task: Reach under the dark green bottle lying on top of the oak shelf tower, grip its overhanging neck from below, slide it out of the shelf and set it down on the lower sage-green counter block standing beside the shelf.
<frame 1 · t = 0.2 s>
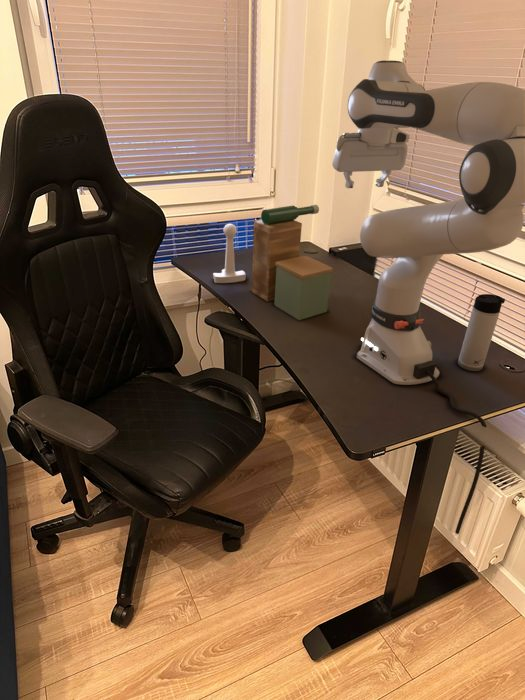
hand: (364, 187, 136), 39 cm above the table, tool pointing down, fingers open, 8 cm apart
bottle: (279, 221, 157), point 24 cm above the table, touching shelf
travel mug: (470, 366, 133), on the table
shelf: (274, 292, 169), on the table
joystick: (228, 278, 179), on the table
counter: (300, 308, 160), on the table
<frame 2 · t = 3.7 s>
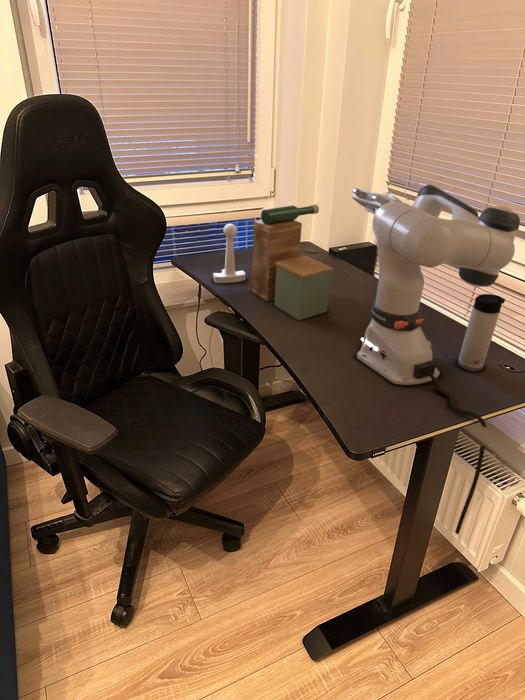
hand: (364, 193, 166), 31 cm above the table, tool pointing upward, fingers open, 8 cm apart
nothing on the table moved.
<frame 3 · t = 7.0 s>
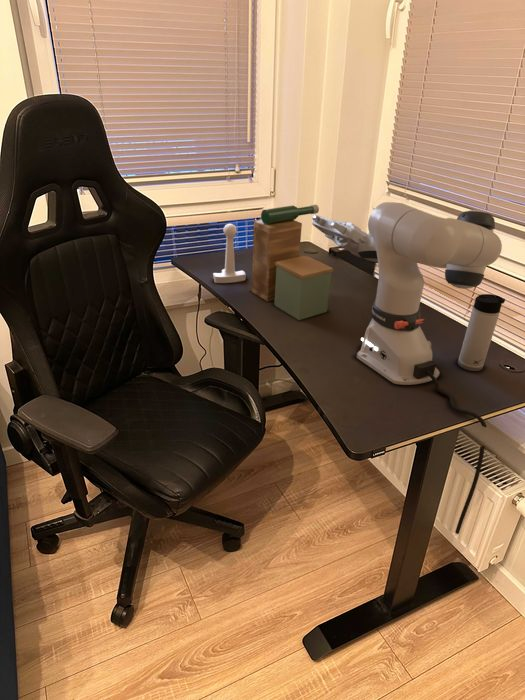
hand: (323, 220, 168), 22 cm above the table, tool pointing upward, fingers open, 8 cm apart
nothing on the table moved.
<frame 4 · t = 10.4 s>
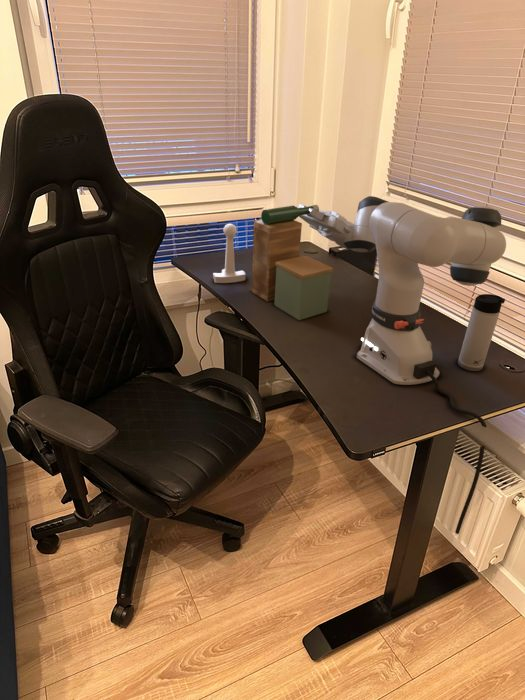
hand: (306, 209, 162), 27 cm above the table, tool pointing upward, fingers closed on bottle, 2 cm apart
bottle: (279, 221, 157), point 24 cm above the table, touching gripper, shelf
everything else where it was.
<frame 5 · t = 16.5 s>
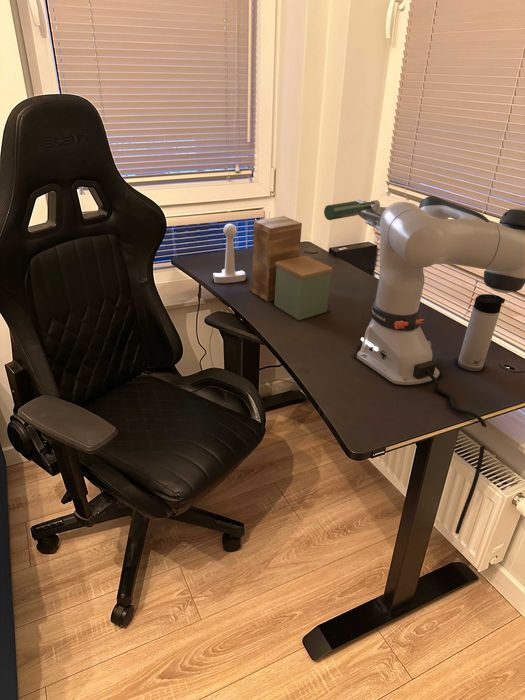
hand: (367, 204, 158), 29 cm above the table, tool pointing upward, fingers closed on bottle, 2 cm apart
bottle: (341, 217, 154), point 27 cm above the table, touching gripper
everything else where it was.
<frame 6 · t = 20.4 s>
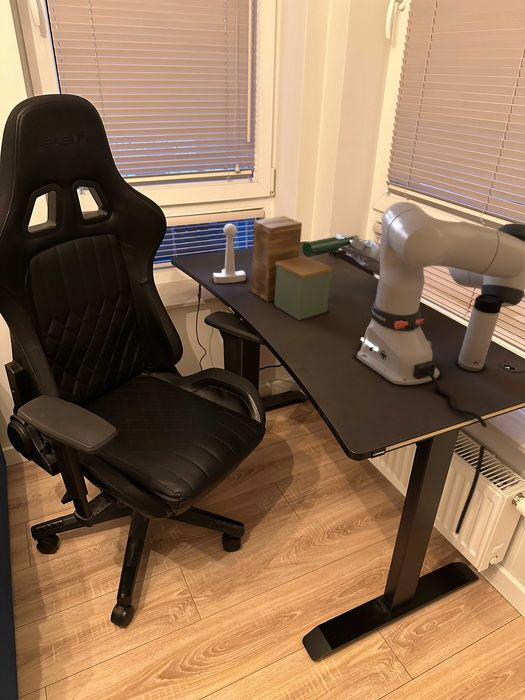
hand: (346, 240, 158), 20 cm above the table, tool pointing upward, fingers closed on bottle, 2 cm apart
bottle: (320, 253, 154), point 17 cm above the table, touching gripper
everything else where it was.
when the fingers open (17 cm above the table, at t = 23.2 s): bottle stays where it is, resting on counter.
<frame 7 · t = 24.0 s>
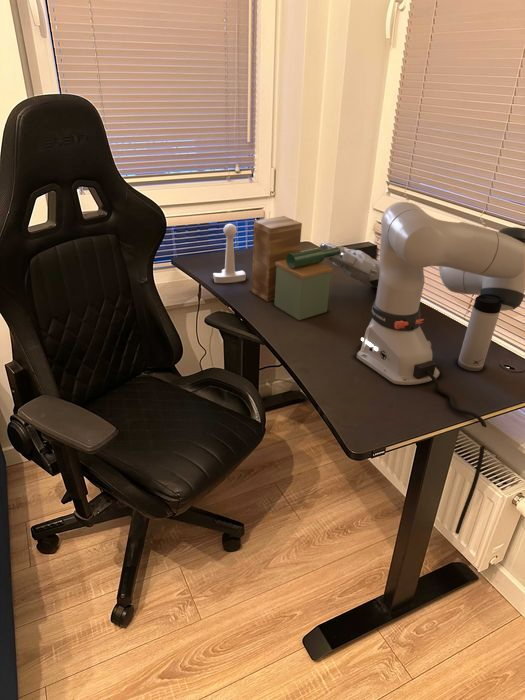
hand: (331, 250, 156), 17 cm above the table, tool pointing upward, fingers open, 8 cm apart
bottle: (304, 265, 152), point 15 cm above the table, touching counter
everything else where it was.
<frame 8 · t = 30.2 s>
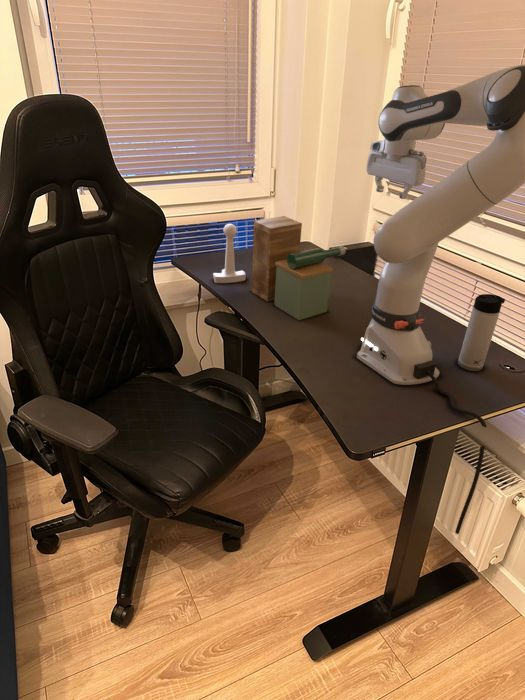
hand: (391, 195, 155), 33 cm above the table, tool pointing down, fingers open, 8 cm apart
bottle: (304, 265, 152), point 15 cm above the table, tilted 8°, touching counter
everything else where it was.
at the end: bottle inside the target area on the counter (0.2 cm from its centre), point 14.5 cm above the counter's base; bottle touching counter; the gripper is holding nothing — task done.
